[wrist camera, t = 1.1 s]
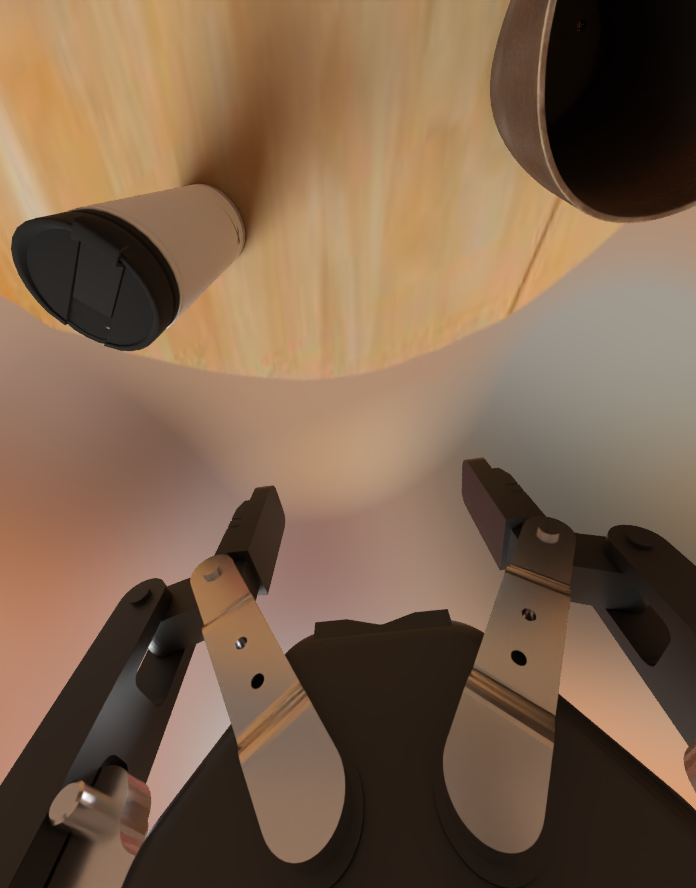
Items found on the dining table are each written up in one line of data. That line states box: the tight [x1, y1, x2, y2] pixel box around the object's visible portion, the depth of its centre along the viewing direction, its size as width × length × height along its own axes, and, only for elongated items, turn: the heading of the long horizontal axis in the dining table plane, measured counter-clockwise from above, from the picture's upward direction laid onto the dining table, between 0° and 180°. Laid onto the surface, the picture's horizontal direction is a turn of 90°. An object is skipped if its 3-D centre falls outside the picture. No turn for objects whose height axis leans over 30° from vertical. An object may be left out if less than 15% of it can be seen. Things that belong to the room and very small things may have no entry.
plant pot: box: [490, 0, 696, 223], centre depth 16 cm, size 15×15×16 cm
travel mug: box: [11, 184, 245, 351], centre depth 21 cm, size 6×7×20 cm
